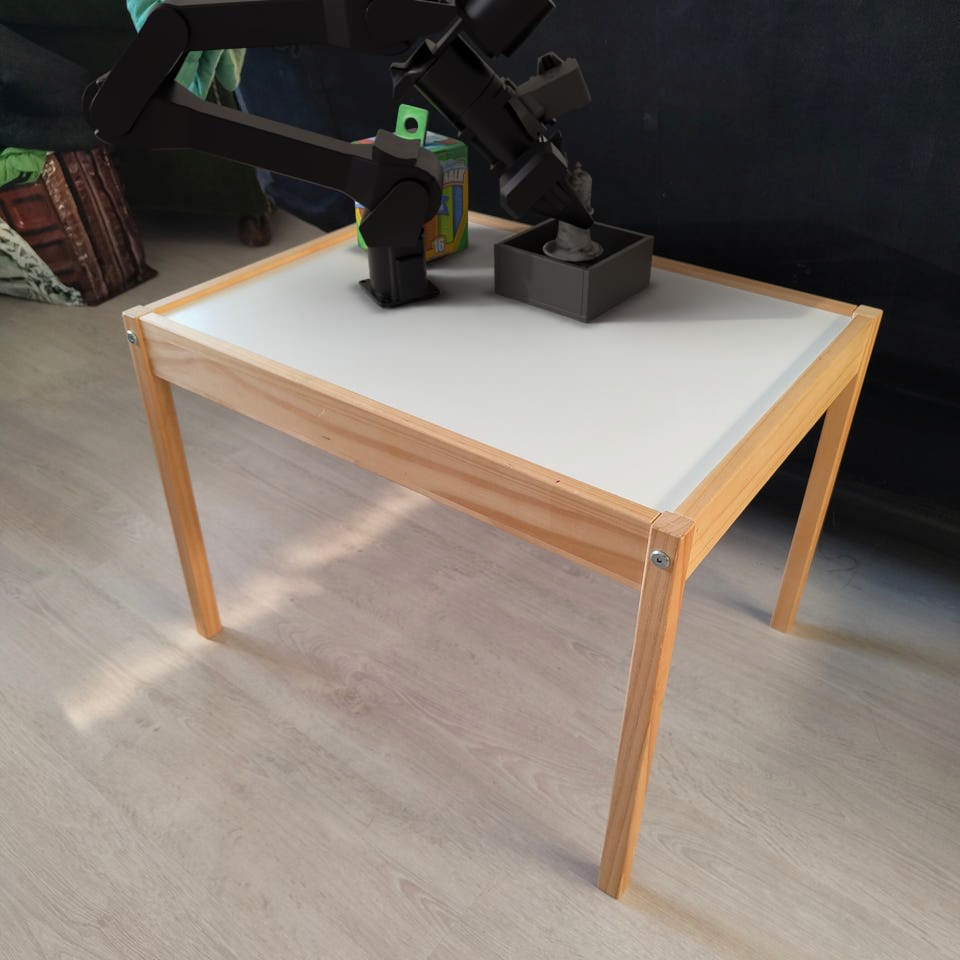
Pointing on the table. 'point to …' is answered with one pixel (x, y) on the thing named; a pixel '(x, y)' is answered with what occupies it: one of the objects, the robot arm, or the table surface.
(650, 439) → the table surface
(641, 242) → the basket
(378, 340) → the table surface
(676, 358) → the table surface
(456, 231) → the chalk box
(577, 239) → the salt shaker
